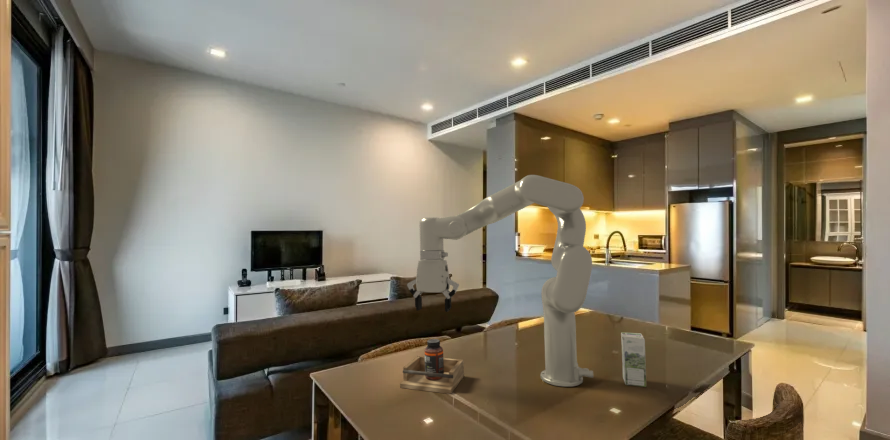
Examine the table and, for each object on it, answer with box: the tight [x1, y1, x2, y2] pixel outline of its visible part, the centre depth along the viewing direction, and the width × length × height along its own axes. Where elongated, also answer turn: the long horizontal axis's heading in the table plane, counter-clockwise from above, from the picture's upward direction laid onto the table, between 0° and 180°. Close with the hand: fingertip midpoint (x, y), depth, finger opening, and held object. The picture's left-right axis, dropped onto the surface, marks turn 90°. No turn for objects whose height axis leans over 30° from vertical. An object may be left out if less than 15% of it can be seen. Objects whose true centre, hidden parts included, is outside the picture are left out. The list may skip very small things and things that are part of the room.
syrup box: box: [620, 332, 647, 388], centre depth 110 cm, size 6×6×14 cm
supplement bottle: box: [424, 338, 444, 380], centre depth 114 cm, size 6×6×11 cm
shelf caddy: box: [399, 355, 465, 395], centre depth 113 cm, size 16×14×5 cm
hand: (433, 310), depth 115 cm, fingers open, 9 cm apart
